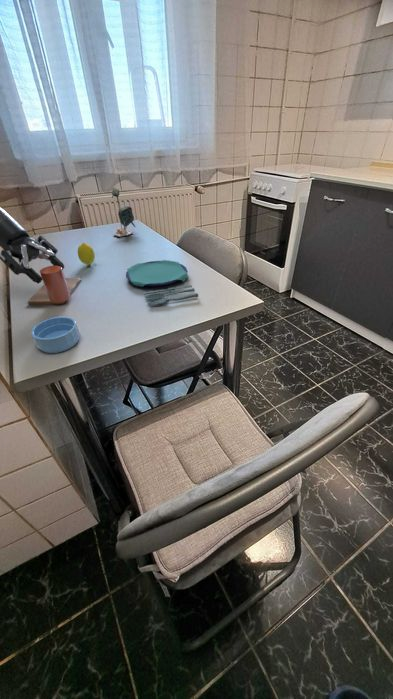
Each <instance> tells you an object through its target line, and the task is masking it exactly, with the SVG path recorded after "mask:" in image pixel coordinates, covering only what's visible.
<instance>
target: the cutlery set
mask: <svg viewBox="0 0 393 699" xmlns="http://www.w3.org/2000/svg"><path fill="white" fill-rule="evenodd" d="M126 270H127V271H126V272H125V278H126V279H127V280H128V282H131V284H132V285H134V286H137V287H142V288H143V287H144V286H145V287H146V286H148V287H158V286H159V287H160V286H165V285H169V284H173V283H176V282H178V281H179V282H180V281H182V283H184V282H185V281H186V280H187V279H188V269H187V267H186V266H185V265H183V264H182V263H180V261H175V260H167V259H163V260H154V261H153V260H152V261H146V262H140V263H136V264H134V265H131V266H130V267H128V268H127V269H126ZM192 287H193V286H192V285H187V286H178V287H173V286H172V287H168V288H164V289H155V290H150V291H146V292H144V293H143V295H144V296H145V300H150V302H147V306H150V307H151V306H152V307H153V306H156V305H158V306H159V305H166V304H169V303H170V302H172V301H173V302H174V301H183V300H188V299H192V298H193V299H194V298H198V297H199V293H197V292H196V293H195V290H196V289H195V288H194V287H193V288H192ZM186 288H187V289H186ZM179 289H180V290H179ZM182 289H183V290H182ZM176 290H179V291H176ZM171 291H174V292H171ZM163 292H168V293H167V294H165V293H163ZM193 292H194V293H193ZM185 293H192V294H188V295H184V296H179V297H172V298H171V297H170V298H169V296H174V295H177V294H185ZM165 297H166V298H165Z"/></svg>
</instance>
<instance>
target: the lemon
mask: <svg viewBox="0 0 393 699" xmlns="http://www.w3.org/2000/svg"><path fill="white" fill-rule="evenodd" d="M77 257H78V259H79V260H80V262H81V263H83V264H84V265H87V266H91V264H93V263H94V261H95V258H96V255H95V251H94V249H93V247H92V246H91V245H90V244H88V243H85V242H82V243H81V244H79V246H78V248H77Z"/></svg>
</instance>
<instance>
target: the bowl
mask: <svg viewBox="0 0 393 699" xmlns="http://www.w3.org/2000/svg"><path fill="white" fill-rule="evenodd" d="M30 333H31V337H32V340H33V342H34V344H35V346H36V348H37V349H38V350H40V351H42V352H44V353H47V354H57V353H62V352H65V351H68V350H70V349H71V348H73V347H75V345H77V344H78V342H79V339H80V335H81V334H80V331H79V327H78V324H77V322H76V320H75V319H74V318H73V317H69V316H55V317H50V318H47V319H43V320H42V321H40V322H39V323H37V324H35V326H33V328H32V329H31V331H30Z"/></svg>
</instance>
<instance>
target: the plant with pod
mask: <svg viewBox="0 0 393 699" xmlns="http://www.w3.org/2000/svg"><path fill="white" fill-rule="evenodd" d="M111 190H112V191H111V195H112V196H111V199H113V198H114V197H115V198H116V200H117V206H118V214H117V215H118V219H119V223H120V227H118V228H116V232H113V235H114V236H116V237H125V236H129V235H131V234H132V232H130V231H128V230H127V227H128V226H129V225H130V224H132V226H133V227H134V228H136V225H135V223H134V220H135V216H134V214H133V208H132V206H130V205H127V204H126V205H124V206H122V207H120V200H119V196H120V189H119V188H118V187H116V186H113V187H112V189H111ZM122 226H123V227H122Z"/></svg>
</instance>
